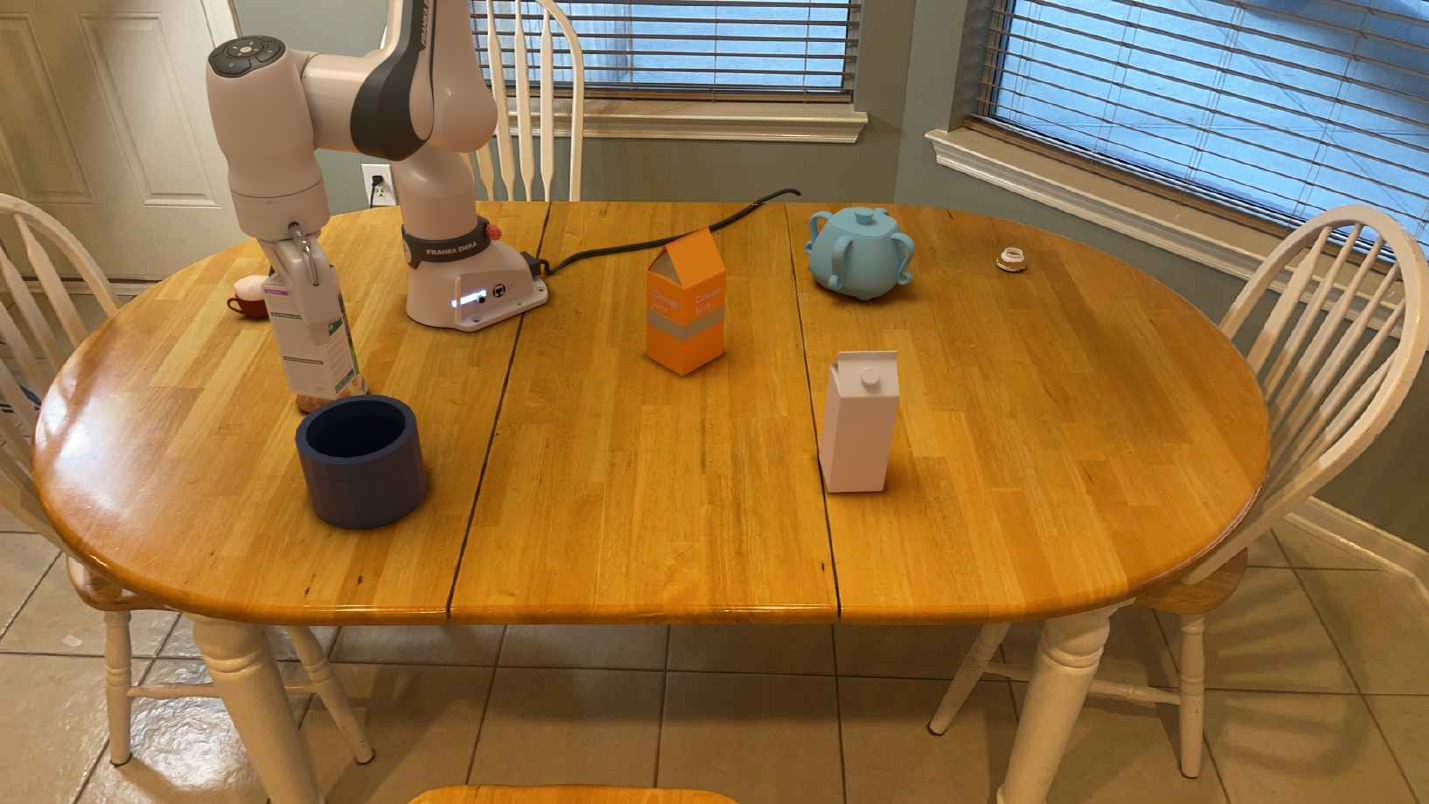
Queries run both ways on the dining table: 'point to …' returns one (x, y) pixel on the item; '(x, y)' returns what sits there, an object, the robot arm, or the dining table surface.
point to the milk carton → (859, 420)
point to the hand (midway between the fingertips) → (309, 322)
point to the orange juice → (686, 303)
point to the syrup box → (310, 345)
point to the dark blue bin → (362, 460)
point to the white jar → (1011, 258)
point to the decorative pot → (859, 252)
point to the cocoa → (250, 295)
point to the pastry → (353, 389)
